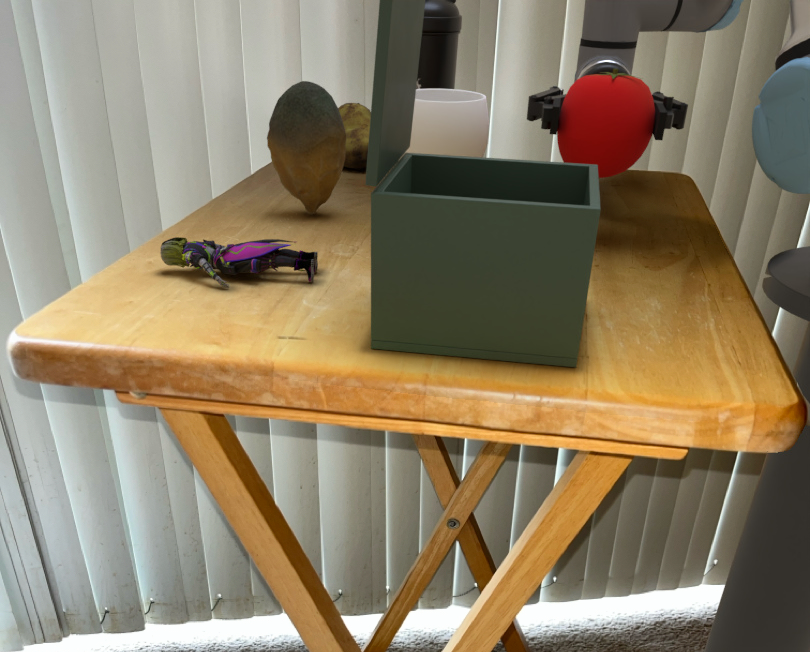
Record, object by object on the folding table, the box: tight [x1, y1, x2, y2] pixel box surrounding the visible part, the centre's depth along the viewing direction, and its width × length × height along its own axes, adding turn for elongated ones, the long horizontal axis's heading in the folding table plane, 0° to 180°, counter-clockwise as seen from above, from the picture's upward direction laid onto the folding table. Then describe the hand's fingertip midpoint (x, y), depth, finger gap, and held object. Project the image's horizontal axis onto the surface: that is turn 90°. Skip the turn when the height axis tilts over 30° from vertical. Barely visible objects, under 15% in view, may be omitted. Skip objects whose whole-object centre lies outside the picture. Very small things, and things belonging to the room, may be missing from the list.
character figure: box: [159, 236, 319, 289], centre depth 86 cm, size 9×4×16 cm
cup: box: [399, 88, 490, 160], centre depth 96 cm, size 11×11×15 cm
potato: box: [338, 102, 371, 171], centre depth 128 cm, size 8×13×8 cm, turn 173°
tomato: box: [556, 69, 655, 179], centre depth 94 cm, size 10×11×11 cm
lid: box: [365, 0, 425, 188], centre depth 66 cm, size 18×16×1 cm
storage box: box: [370, 153, 602, 368], centre depth 74 cm, size 18×16×13 cm
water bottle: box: [397, 0, 463, 162], centre depth 127 cm, size 10×10×23 cm
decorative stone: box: [266, 80, 346, 215], centre depth 102 cm, size 10×6×15 cm, turn 84°
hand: (607, 123), depth 90 cm, fingers closed on tomato, 11 cm apart
